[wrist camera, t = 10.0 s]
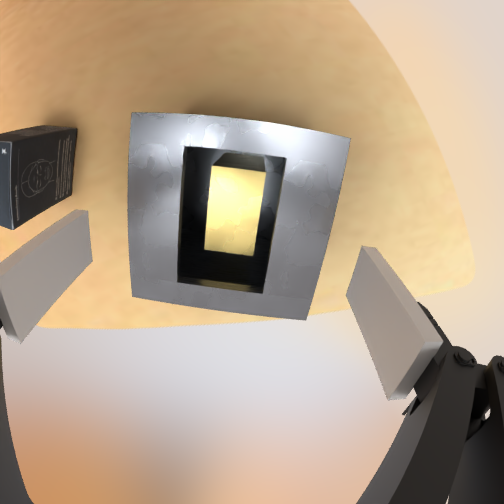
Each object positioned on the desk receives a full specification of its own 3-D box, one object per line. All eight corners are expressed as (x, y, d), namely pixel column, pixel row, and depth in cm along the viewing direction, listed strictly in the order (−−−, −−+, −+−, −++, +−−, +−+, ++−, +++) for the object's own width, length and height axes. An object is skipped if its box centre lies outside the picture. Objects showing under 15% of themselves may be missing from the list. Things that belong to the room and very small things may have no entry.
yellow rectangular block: (225, 152, 26) (211, 165, 18) (263, 157, 26) (266, 172, 18) (218, 214, 28) (204, 249, 21) (254, 219, 28) (253, 255, 21)
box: (42, 124, 24) (-24, 138, 15) (79, 128, 25) (11, 140, 15) (38, 189, 28) (-22, 220, 18) (72, 196, 28) (12, 232, 19)
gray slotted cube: (183, 113, 25) (131, 112, 14) (311, 130, 25) (350, 138, 14) (174, 231, 30) (132, 296, 19) (289, 247, 30) (306, 320, 19)
